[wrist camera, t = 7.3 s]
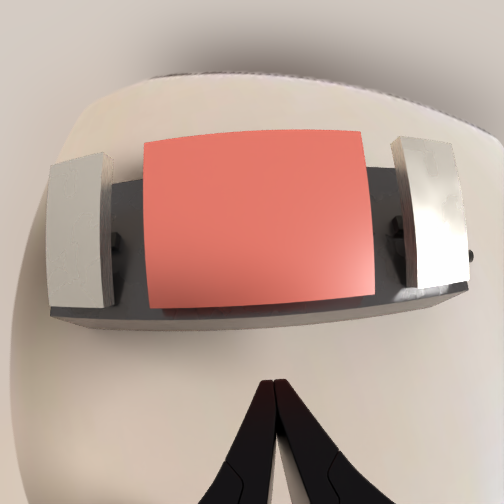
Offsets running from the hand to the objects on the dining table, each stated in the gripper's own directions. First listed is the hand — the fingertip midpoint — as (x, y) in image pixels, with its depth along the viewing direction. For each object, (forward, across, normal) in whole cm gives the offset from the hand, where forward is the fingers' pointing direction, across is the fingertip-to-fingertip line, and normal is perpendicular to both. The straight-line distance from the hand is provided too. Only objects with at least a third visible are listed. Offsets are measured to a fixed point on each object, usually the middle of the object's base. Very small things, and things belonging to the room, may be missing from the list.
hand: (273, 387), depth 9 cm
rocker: (+8, 0, -3) cm, 9 cm away
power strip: (+14, -3, +2) cm, 14 cm away
